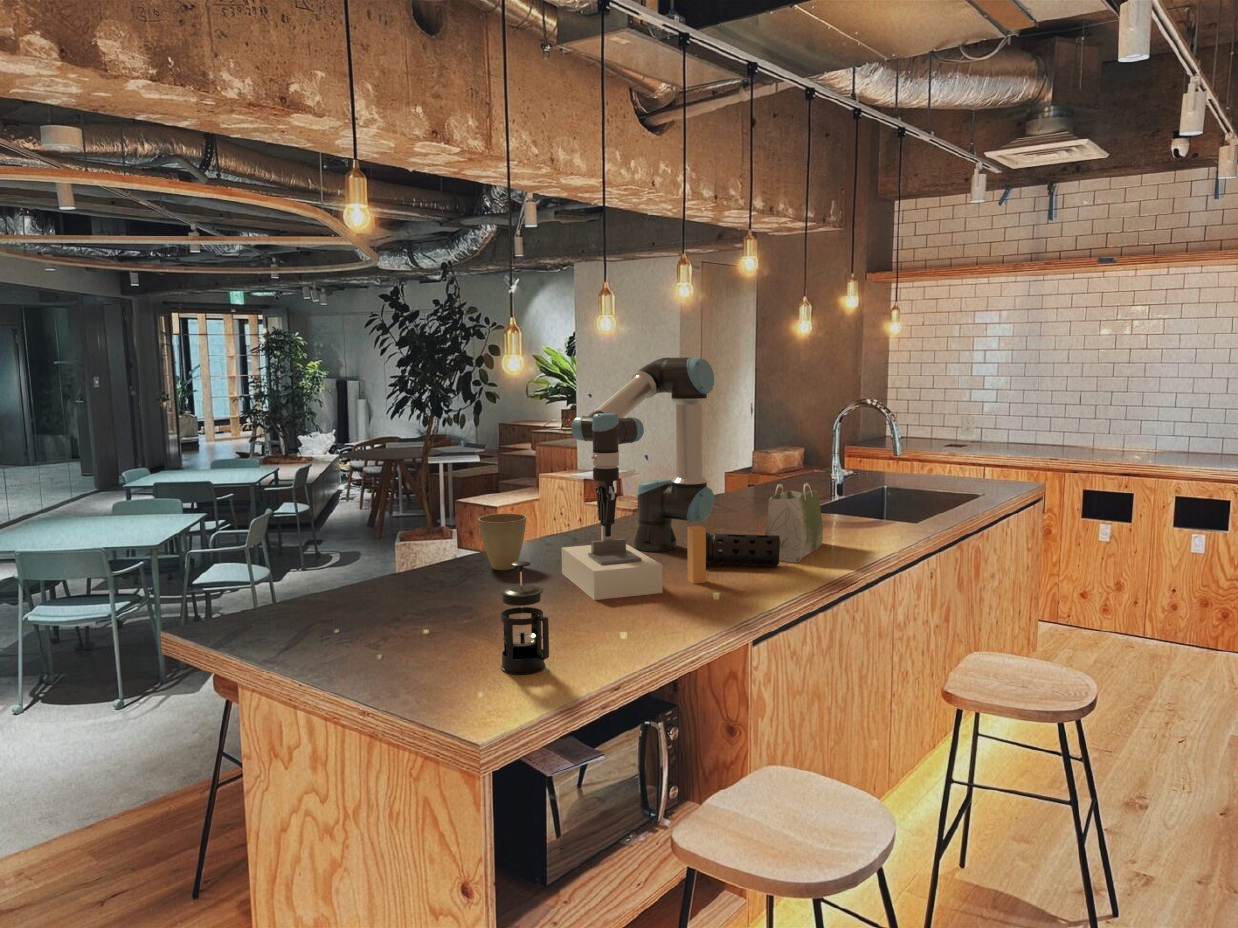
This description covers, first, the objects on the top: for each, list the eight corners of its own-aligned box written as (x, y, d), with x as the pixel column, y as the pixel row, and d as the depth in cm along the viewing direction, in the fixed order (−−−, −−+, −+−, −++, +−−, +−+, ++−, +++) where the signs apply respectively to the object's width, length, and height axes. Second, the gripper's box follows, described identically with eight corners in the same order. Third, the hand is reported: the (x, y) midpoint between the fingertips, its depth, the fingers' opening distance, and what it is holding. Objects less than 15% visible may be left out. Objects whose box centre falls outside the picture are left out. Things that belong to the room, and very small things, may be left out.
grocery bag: (785, 540, 319) (785, 475, 316) (824, 543, 313) (825, 477, 310) (758, 559, 291) (758, 488, 288) (800, 563, 285) (801, 490, 282)
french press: (489, 669, 192) (486, 563, 189) (517, 656, 200) (514, 554, 197) (533, 679, 185) (530, 570, 183) (560, 665, 193) (558, 561, 190)
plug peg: (687, 580, 264) (687, 526, 262) (700, 579, 266) (700, 525, 264) (693, 583, 261) (693, 529, 259) (705, 582, 262) (705, 528, 260)
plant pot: (489, 561, 291) (487, 512, 289) (533, 563, 288) (532, 513, 286) (472, 572, 277) (471, 521, 275) (518, 574, 274) (517, 522, 272)
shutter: (588, 555, 261) (587, 541, 261) (627, 552, 265) (626, 537, 265) (601, 564, 250) (600, 549, 250) (641, 560, 254) (641, 546, 254)
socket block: (561, 573, 274) (561, 547, 273) (623, 567, 281) (623, 542, 280) (594, 599, 244) (593, 571, 244) (662, 592, 251) (662, 564, 250)
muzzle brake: (778, 571, 275) (778, 537, 274) (687, 567, 281) (687, 535, 279) (779, 564, 284) (779, 531, 283) (691, 560, 290) (690, 529, 289)
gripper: (586, 464, 266) (587, 543, 269) (600, 470, 254) (601, 552, 257) (610, 463, 268) (611, 541, 271) (625, 468, 256) (626, 550, 259)
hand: (606, 546), depth 264 cm, fingers closed
